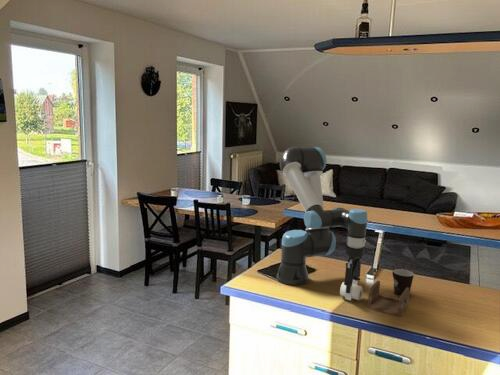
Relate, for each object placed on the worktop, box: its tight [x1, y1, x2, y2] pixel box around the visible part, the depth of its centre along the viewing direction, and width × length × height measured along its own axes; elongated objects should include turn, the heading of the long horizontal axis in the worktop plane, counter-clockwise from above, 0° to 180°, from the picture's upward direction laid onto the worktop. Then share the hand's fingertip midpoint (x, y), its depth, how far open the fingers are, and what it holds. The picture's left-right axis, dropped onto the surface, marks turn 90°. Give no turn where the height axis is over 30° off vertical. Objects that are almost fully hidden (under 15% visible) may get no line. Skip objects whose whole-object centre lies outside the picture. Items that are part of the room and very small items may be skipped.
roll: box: [339, 281, 364, 301], centre depth 181 cm, size 8×6×6 cm
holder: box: [367, 280, 410, 318], centre depth 174 cm, size 14×12×8 cm
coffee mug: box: [392, 268, 415, 297], centre depth 190 cm, size 12×9×10 cm
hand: (350, 296), depth 182 cm, fingers closed on roll, 6 cm apart
